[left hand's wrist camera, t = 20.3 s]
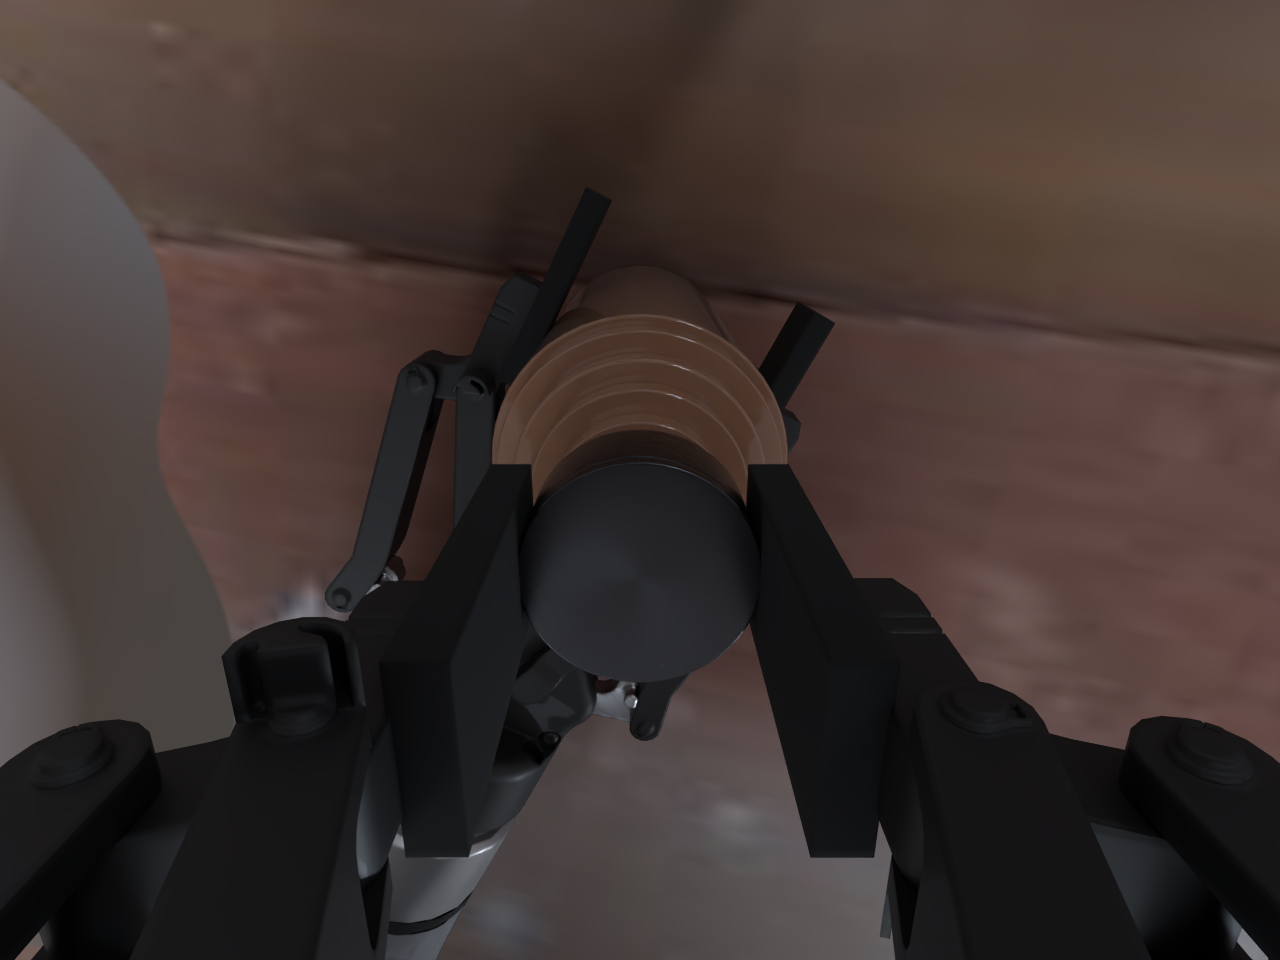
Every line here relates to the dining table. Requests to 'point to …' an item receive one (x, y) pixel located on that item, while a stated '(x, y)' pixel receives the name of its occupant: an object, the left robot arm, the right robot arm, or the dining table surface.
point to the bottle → (639, 379)
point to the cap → (639, 558)
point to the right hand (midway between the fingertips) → (709, 255)
